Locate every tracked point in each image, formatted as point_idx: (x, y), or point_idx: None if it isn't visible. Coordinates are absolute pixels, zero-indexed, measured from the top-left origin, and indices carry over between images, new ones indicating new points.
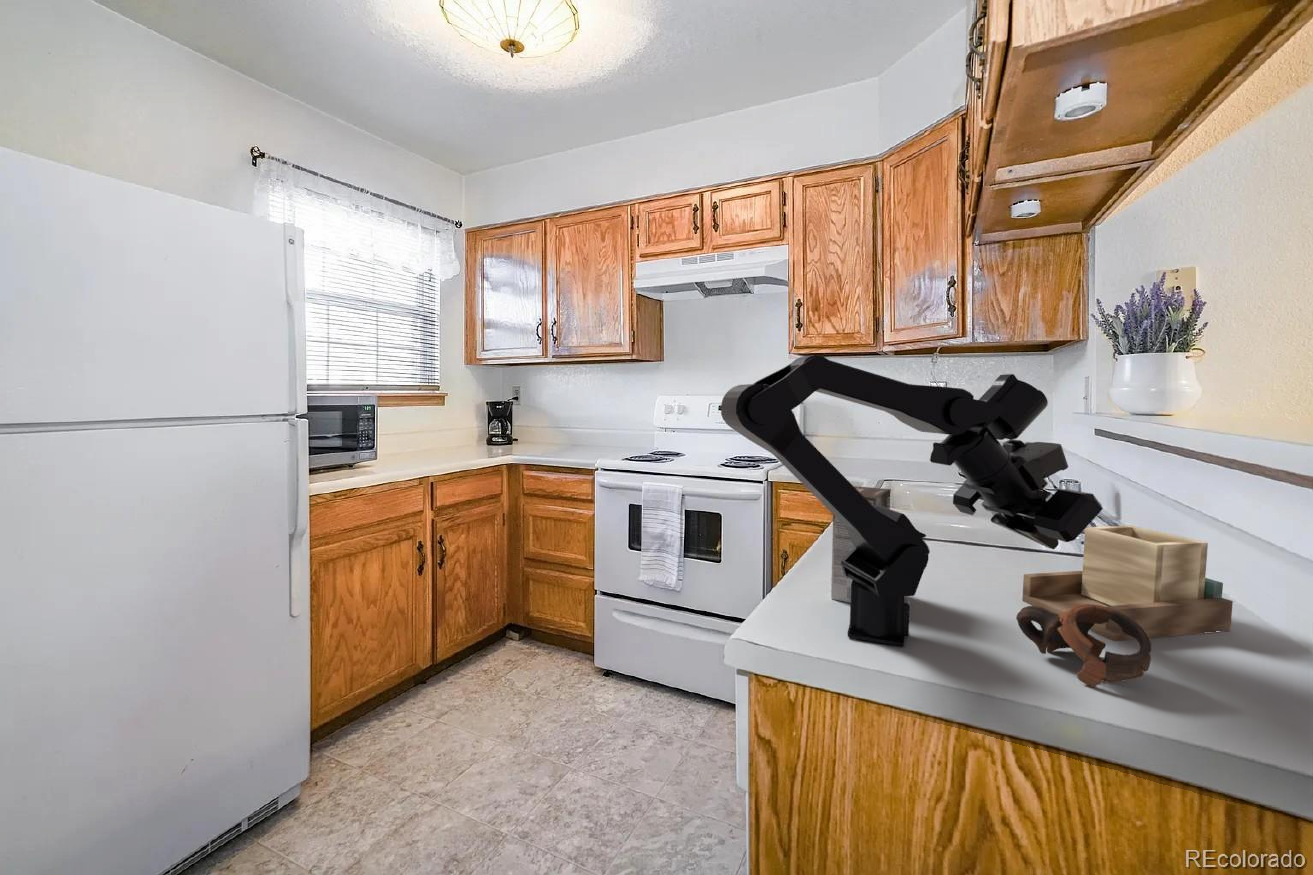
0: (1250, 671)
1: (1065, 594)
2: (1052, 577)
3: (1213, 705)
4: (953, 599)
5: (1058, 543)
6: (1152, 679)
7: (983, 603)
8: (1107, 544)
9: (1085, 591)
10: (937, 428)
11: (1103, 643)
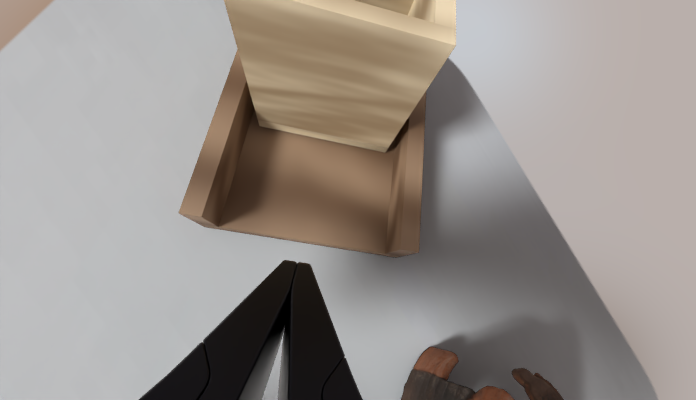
0: (497, 189)
1: (242, 146)
2: (222, 158)
3: (562, 344)
4: (111, 388)
5: (310, 266)
6: (501, 346)
7: (172, 329)
8: (306, 40)
9: (267, 123)
10: None
11: (457, 361)
